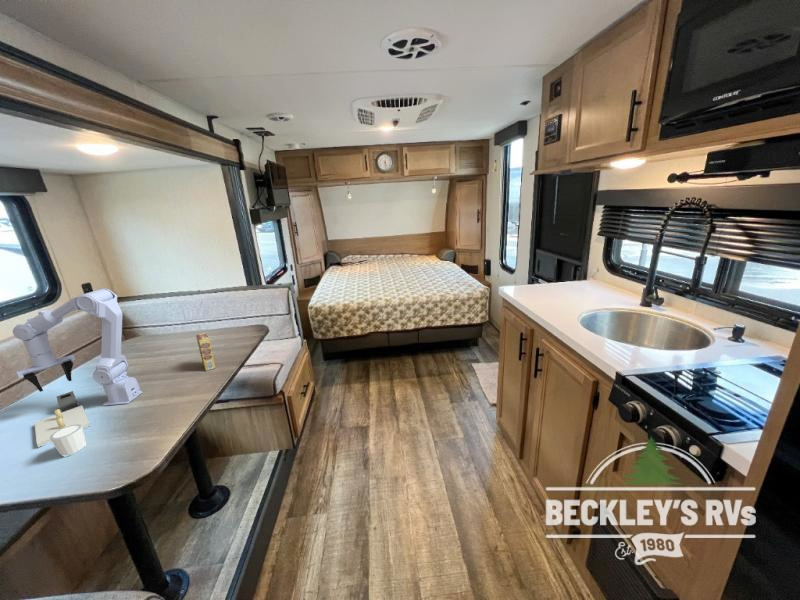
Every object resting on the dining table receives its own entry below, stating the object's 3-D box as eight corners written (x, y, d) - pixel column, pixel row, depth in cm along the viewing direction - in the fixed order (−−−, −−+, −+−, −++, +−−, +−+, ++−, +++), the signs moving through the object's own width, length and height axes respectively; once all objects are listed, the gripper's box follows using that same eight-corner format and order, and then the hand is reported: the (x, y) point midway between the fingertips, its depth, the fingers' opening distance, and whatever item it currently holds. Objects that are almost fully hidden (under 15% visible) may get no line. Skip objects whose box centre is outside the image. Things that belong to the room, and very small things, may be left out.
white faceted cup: (95, 441, 99) (88, 422, 97) (74, 457, 92) (65, 438, 90) (74, 443, 98) (65, 424, 97) (51, 459, 92) (42, 440, 90)
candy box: (216, 367, 142) (208, 337, 138) (206, 371, 140) (197, 340, 136) (213, 361, 149) (205, 332, 145) (203, 364, 147) (195, 335, 142)
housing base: (36, 426, 108) (30, 414, 107) (83, 408, 117) (78, 397, 116) (38, 448, 97) (32, 434, 96) (90, 426, 106) (85, 414, 105)
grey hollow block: (61, 407, 119) (56, 396, 117) (77, 402, 122) (72, 390, 121) (62, 413, 115) (57, 401, 114) (79, 407, 118) (74, 395, 117)
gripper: (65, 343, 121) (77, 374, 125) (8, 359, 109) (24, 393, 113) (71, 346, 117) (84, 377, 121) (13, 363, 105) (29, 397, 109)
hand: (55, 385), depth 117 cm, fingers open, 7 cm apart
